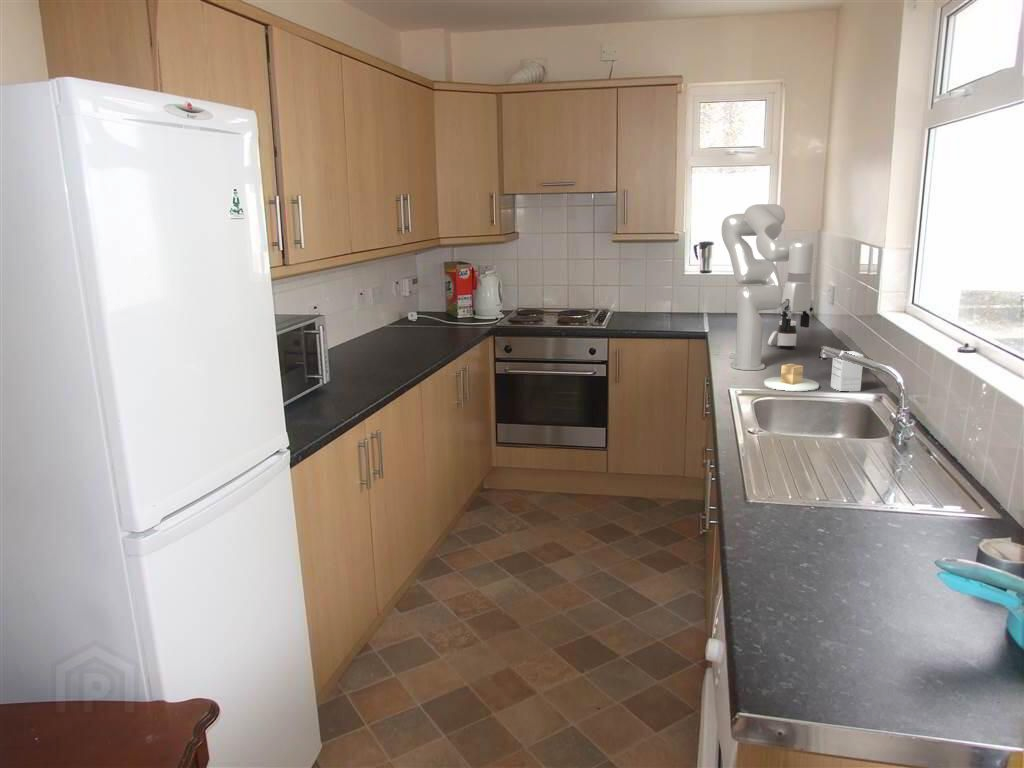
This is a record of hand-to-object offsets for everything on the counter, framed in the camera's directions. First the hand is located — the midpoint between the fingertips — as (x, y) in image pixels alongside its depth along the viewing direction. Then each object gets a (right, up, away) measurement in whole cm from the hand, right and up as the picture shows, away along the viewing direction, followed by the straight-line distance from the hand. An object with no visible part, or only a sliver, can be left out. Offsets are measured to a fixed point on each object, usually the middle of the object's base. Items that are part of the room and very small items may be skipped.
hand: (795, 328), depth 262 cm
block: (0, -19, +4) cm, 19 cm away
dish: (0, -20, +5) cm, 20 cm away
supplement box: (+17, -21, -1) cm, 27 cm away
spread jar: (+21, -3, +72) cm, 75 cm away
